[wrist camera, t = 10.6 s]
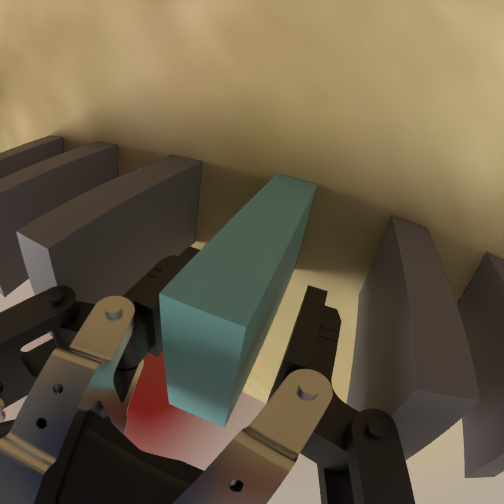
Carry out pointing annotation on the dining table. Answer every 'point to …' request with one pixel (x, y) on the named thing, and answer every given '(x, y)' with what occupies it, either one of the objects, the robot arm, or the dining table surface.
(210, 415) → the domino
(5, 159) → the domino
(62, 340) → the robot arm
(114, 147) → the domino
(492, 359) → the domino
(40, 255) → the domino
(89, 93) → the dining table surface
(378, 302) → the domino
